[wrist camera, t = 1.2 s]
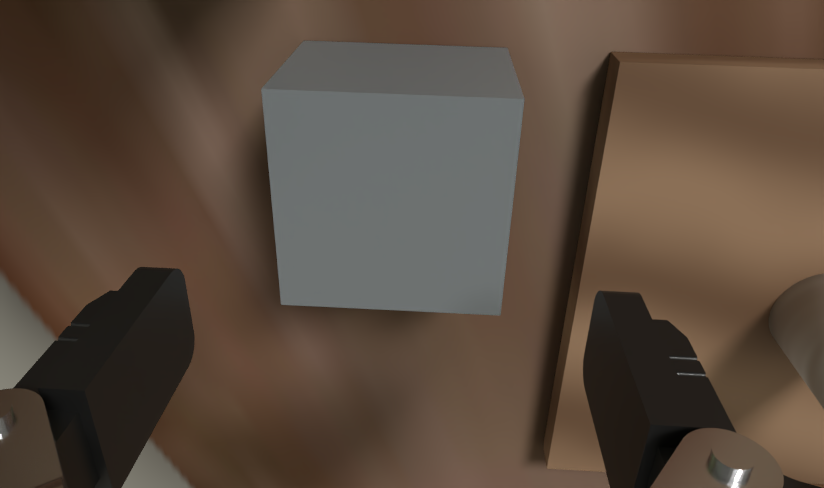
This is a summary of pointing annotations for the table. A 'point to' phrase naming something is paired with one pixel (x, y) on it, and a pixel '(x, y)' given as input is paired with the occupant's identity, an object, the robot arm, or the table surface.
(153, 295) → the robot arm
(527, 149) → the table surface
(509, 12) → the table surface
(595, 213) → the wooden square tile
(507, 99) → the matte grey cube
